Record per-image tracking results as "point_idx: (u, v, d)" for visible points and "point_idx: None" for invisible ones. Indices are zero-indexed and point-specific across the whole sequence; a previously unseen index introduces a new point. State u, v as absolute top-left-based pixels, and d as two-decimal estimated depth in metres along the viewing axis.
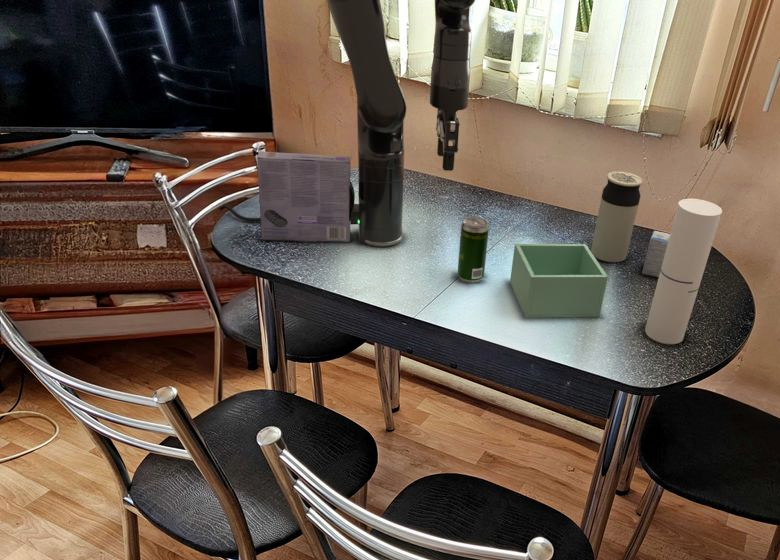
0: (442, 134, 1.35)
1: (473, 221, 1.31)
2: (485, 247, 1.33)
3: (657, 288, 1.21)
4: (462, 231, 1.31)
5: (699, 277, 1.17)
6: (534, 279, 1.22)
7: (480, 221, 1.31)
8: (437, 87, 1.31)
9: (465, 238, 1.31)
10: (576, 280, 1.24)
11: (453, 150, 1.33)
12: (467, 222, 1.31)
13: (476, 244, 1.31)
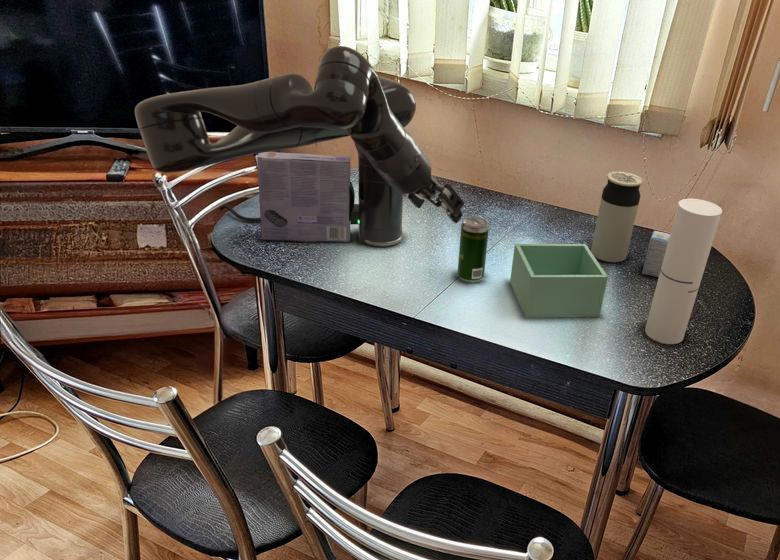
0: (435, 203, 1.12)
1: (473, 221, 1.31)
2: (485, 247, 1.33)
3: (657, 288, 1.21)
4: (462, 231, 1.31)
5: (699, 277, 1.17)
6: (534, 279, 1.22)
7: (480, 221, 1.31)
8: (402, 180, 1.05)
9: (465, 238, 1.31)
10: (576, 280, 1.24)
11: (461, 206, 1.13)
12: (467, 222, 1.31)
13: (476, 244, 1.31)
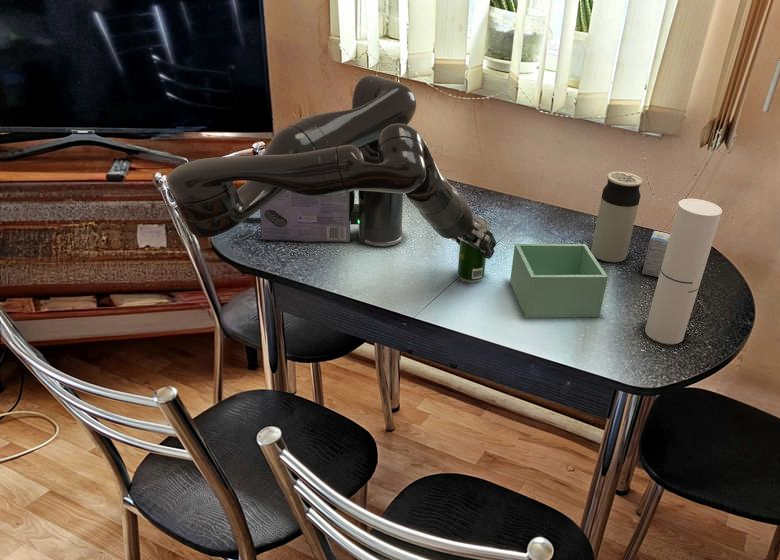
0: (473, 245, 1.28)
1: (473, 221, 1.31)
2: None
3: (657, 288, 1.21)
4: None
5: (699, 277, 1.17)
6: (534, 279, 1.22)
7: (480, 221, 1.31)
8: (449, 228, 1.20)
9: None
10: (576, 280, 1.24)
11: (494, 246, 1.29)
12: None
13: None
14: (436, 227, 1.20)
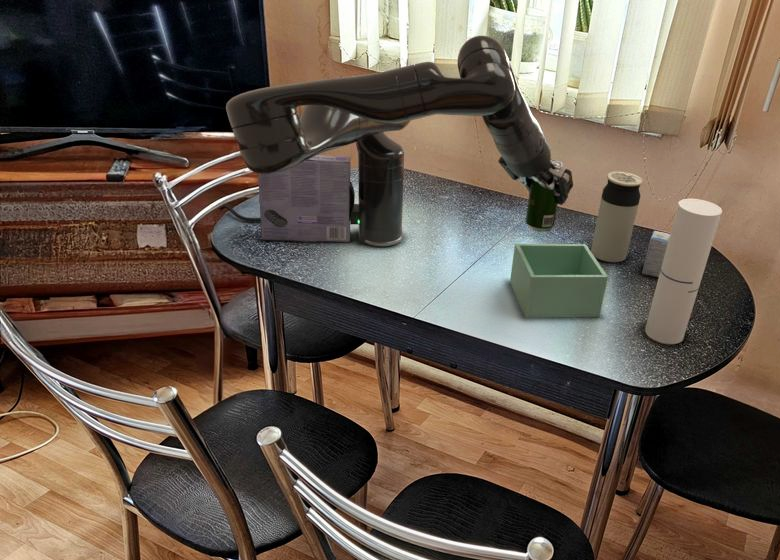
0: (548, 186, 1.17)
1: None
2: None
3: (657, 288, 1.21)
4: None
5: (699, 277, 1.17)
6: (534, 279, 1.22)
7: (553, 162, 1.20)
8: (527, 163, 1.09)
9: None
10: (576, 280, 1.24)
11: (570, 188, 1.18)
12: None
13: None
14: (513, 162, 1.09)
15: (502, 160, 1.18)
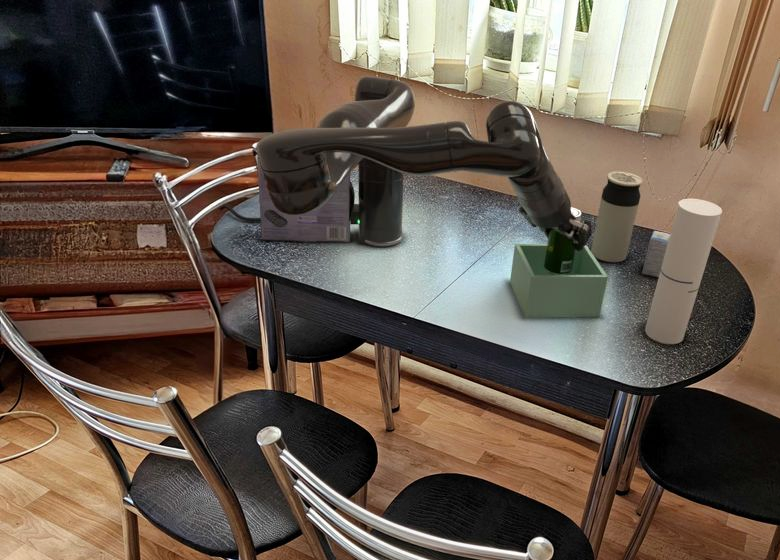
0: (568, 235, 1.20)
1: None
2: None
3: (657, 288, 1.21)
4: None
5: (699, 277, 1.17)
6: (534, 279, 1.22)
7: (572, 210, 1.24)
8: (548, 216, 1.12)
9: None
10: (576, 280, 1.24)
11: (589, 237, 1.21)
12: None
13: None
14: (535, 215, 1.12)
15: (522, 209, 1.22)
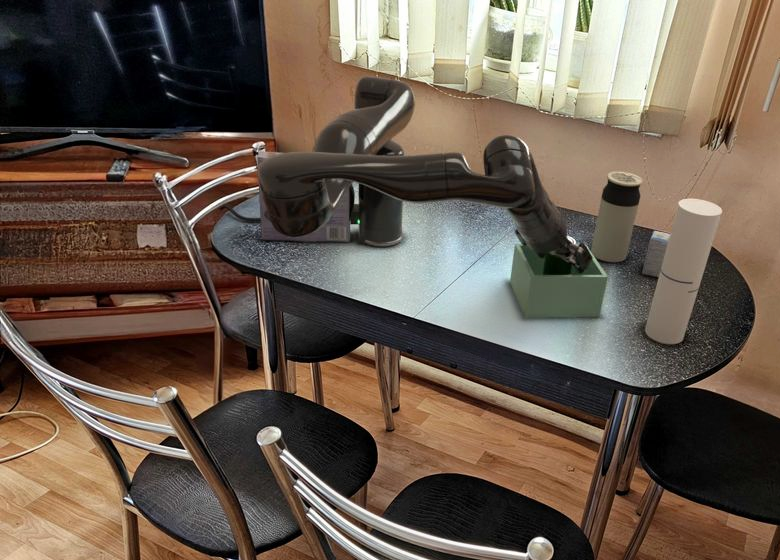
0: (566, 259, 1.22)
1: None
2: (571, 266, 1.28)
3: (657, 288, 1.21)
4: None
5: (699, 277, 1.17)
6: (534, 279, 1.22)
7: None
8: (545, 242, 1.15)
9: (551, 257, 1.26)
10: (576, 280, 1.24)
11: (590, 261, 1.23)
12: None
13: (563, 263, 1.26)
14: (531, 241, 1.15)
15: (519, 232, 1.24)
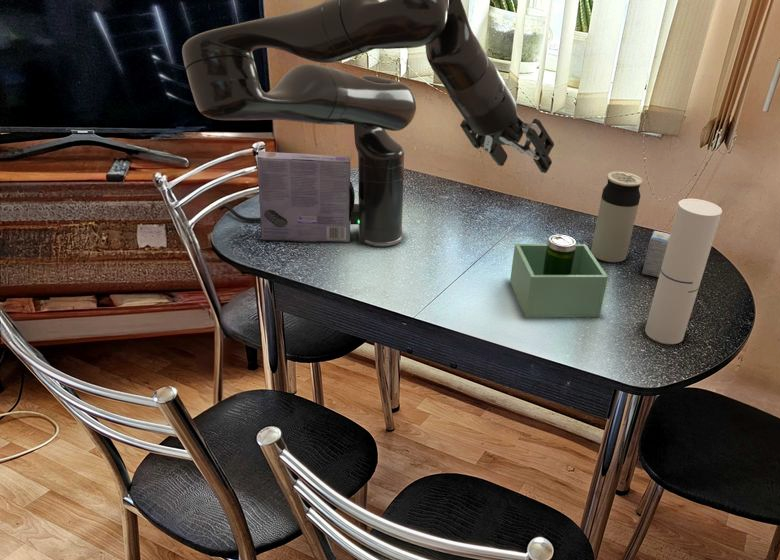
0: (522, 147, 1.02)
1: (559, 239, 1.27)
2: (571, 266, 1.28)
3: (657, 288, 1.21)
4: (548, 250, 1.26)
5: (699, 277, 1.17)
6: (534, 279, 1.22)
7: (566, 239, 1.27)
8: (487, 114, 0.95)
9: (551, 257, 1.26)
10: (576, 280, 1.24)
11: (551, 148, 1.02)
12: (554, 240, 1.26)
13: (563, 263, 1.26)
14: (471, 115, 0.95)
15: (465, 123, 1.04)
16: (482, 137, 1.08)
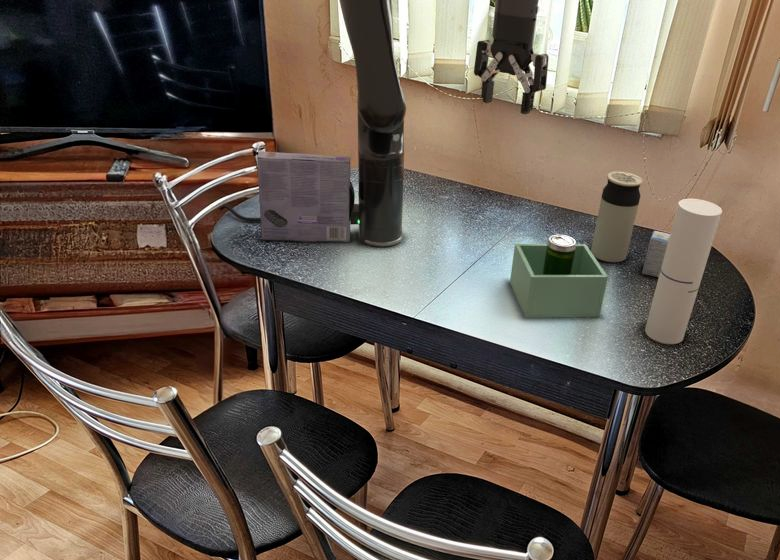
0: (522, 73, 1.19)
1: (559, 239, 1.27)
2: (571, 266, 1.28)
3: (657, 288, 1.21)
4: (548, 250, 1.26)
5: (699, 277, 1.17)
6: (534, 279, 1.22)
7: (566, 239, 1.27)
8: (519, 18, 1.14)
9: (551, 257, 1.26)
10: (576, 280, 1.24)
11: (543, 88, 1.20)
12: (554, 240, 1.26)
13: (563, 263, 1.26)
14: (507, 12, 1.14)
15: (483, 42, 1.22)
16: (484, 69, 1.25)
